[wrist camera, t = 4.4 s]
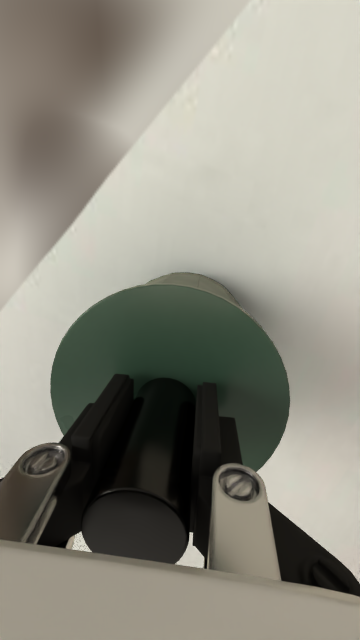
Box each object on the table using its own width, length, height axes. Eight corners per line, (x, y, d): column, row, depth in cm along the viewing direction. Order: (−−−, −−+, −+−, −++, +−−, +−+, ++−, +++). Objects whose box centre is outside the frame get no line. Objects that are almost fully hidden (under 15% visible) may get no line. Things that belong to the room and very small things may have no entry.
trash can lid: (67, 469, 15) (-39, 642, 8) (56, 272, 12) (-116, 304, 6) (265, 493, 14) (316, 702, 8) (301, 289, 11) (428, 349, 5)
